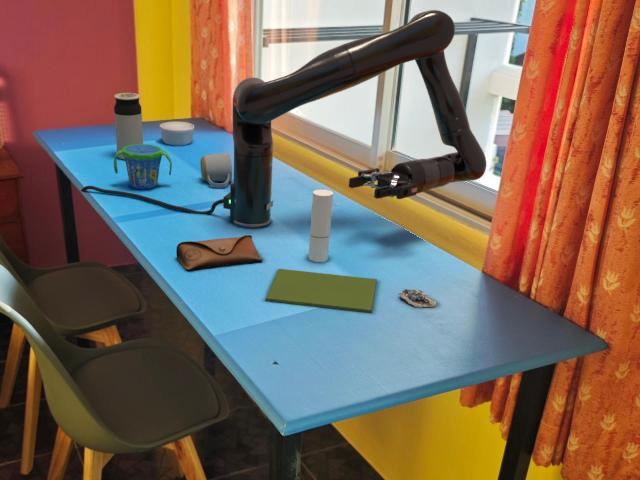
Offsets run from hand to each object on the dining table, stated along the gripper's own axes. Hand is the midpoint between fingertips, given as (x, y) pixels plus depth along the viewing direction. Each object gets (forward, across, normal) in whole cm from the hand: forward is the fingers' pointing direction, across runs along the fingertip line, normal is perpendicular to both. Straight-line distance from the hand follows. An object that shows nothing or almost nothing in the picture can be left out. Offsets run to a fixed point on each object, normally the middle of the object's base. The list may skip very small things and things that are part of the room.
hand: (362, 188), depth 171 cm
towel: (+21, +14, +14) cm, 29 cm away
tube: (+11, 0, +14) cm, 18 cm away
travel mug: (+12, -92, +14) cm, 93 cm away
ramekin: (-10, -100, +14) cm, 101 cm away
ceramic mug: (+2, -57, +14) cm, 59 cm away
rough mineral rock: (+7, +27, +14) cm, 32 cm away
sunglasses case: (+31, -11, +14) cm, 35 cm away
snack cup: (+21, -65, +14) cm, 69 cm away
